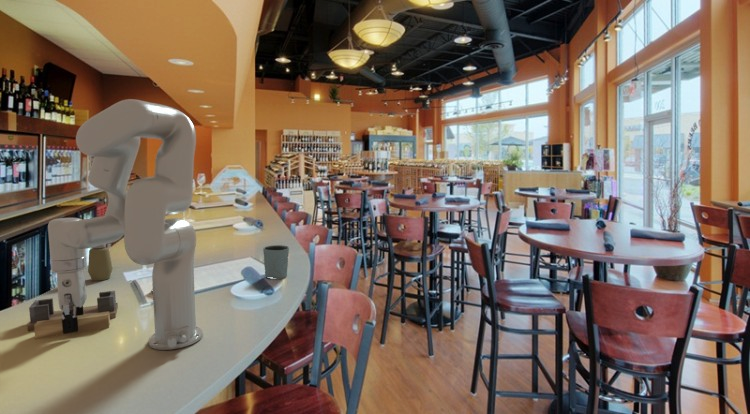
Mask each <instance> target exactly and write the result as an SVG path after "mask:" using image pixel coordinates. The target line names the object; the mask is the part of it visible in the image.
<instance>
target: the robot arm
mask: <svg viewBox="0 0 750 414" xmlns="http://www.w3.org/2000/svg"><path fill="white" fill-rule="evenodd" d="M141 138H143V139H154V140H155V139H156V140H160V141H162V143H161V145H160V146H159V148H158V149H157V152H156V155H155V159H154V163H155V165H154V166H155V167H154V168H155V169H154V175H153V176H146V177H141V178H139V179H137V180H136V181H134V182H133V183H132V184H131V185H130V186H129V188H128V190H127V186H128V183H129V180H130V177H131V173H132V170H133V167H134V166H135V165H134V164H135V162H136V158H137V156H138V152H139V149H140V146H141ZM75 142H76V146H77V148H78V150H79V151H80V152H81V153H82V154H84V155H85V156H88V157H93V160H92V162H91V163H92V164H91V167H90V170H89V173H88V175H87V181H88V183H89V184H90V185H91V186H93V187H94V188H96V189H98V190H101V191H103V192H105V193H106V194H107V198H108V200H107V201H108V204H107V207H106V210H105V213H104V215H103V216H95V217H90V218H86V219H85V218H84V219H82V218H78V217H60V218H54V219H52V220H49V222H48V225H47V232H48V233H47V234H48V242H49V243H48V244H49V258H50V267H51V269H50V270H51V273H53V274H56V281H57V283H56V284H57V287H56V288H57V299H58V307H59V310H60V311H61V310H62V328H63V334H66V335H68V334H67V333H73V332H77V331H78V317H77V316H80V315H84V312H83V307H84V304H85V303H86V301H87V298H88V297H87V296H88V295H87V288H86V287H87V286H86V279H85V273H84V270H86V269H88V264H87V253H86V252H87V250H88V249H93V248H92V247H96V246H99V245H103V244H106V245H107V244H112V243H115V242H117V241H119V240H121V239H122V238H123V239H124V240H123V242H124V243H123V244H124V249H125V252H126V255H127V257H129V259H130V260H131V261H132V262H134V263H136V265H141V266H149V265H153V268H152V275H151V278H152V279H151V280H152V281H151V282H152V288H153V291H152V298H153V299H152V300H153V301H152V302H153V303H152V304H153V318H154V319H153V320H154V333H153V334H152V335H151V336H150V337H149V338H148V346H149V347H150V348H152V349H153V350H160V351H168V350H169V351H170V350H177V349H182V348H185V347H188V346H191V345H193V344H195V343H197V342H198V341H200V340H201V339H202V338H203V335H204V331H203V329H202V328H201V327H198V326H197V321H196V297H195V296H196V295H195V267H194V265H195V264H194V263H195V252H196V245H197V235H196V234H197V233H196V230H195V228H194V226H193V225H192V224H191V223H190V222H189V221H188V220H186V219H182V218H176V217H175V218H174V217H172V218H171V217H170V218H167V219H166V217H167V216H172V215H177V214H180V213H183V212H185V211H187V210H188V209H189V208H190V207H191V204H192V201H193V189H194V187H193V185H194V168H195V167H194V163H195V153H196V146H197V132H196V129H195V126H194V124H193V122H192V121H191V119H190V118H189V117H188V116H187V115H186V114H185V113H184V112H182V111H180V110H179V109H178V108H177V109H176V108H175V107H171V106H169V105H165V104H160V103H155V102H149V101H145V100H141V99H132V98H128V99H122V100H120V101H118V102H116V103H114V104H112V105H111V106H108V107H107V108H105V109H104V110H101V111H100V112H98V113H96V114H95V115H93V116H91V117H90V118H88V119H87V120H86V121H84V122H83V123H82V125H80V127H79V128H78V130H77V132H76V135H75ZM123 236H124V237H123ZM86 249H87V250H86ZM73 334H74V333H73Z"/></svg>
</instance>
